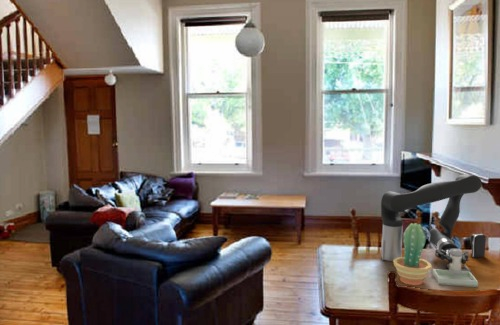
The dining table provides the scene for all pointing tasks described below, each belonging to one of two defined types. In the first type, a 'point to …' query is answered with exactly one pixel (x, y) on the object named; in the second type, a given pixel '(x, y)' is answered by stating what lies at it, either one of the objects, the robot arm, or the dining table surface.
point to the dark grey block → (478, 245)
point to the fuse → (455, 261)
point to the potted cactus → (413, 256)
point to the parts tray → (455, 278)
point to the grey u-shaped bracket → (463, 267)
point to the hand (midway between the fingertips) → (457, 261)
